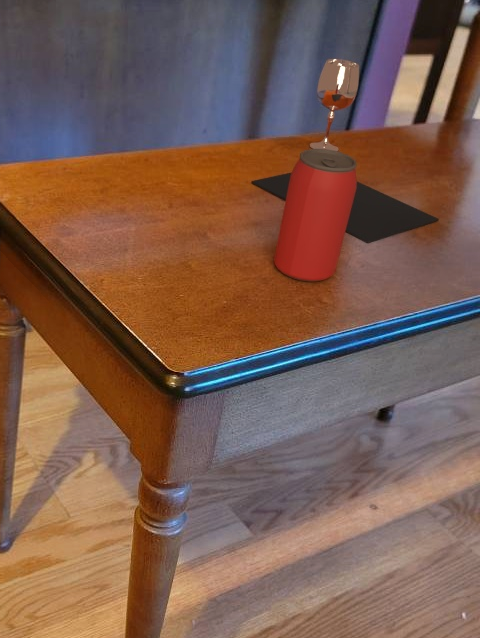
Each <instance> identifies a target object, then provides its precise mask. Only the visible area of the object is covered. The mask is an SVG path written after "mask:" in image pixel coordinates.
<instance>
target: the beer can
mask: <svg viewBox="0 0 480 638" xmlns="http://www.w3.org/2000/svg"><path fill="white" fill-rule="evenodd" d="M357 165H358V164H357V160H355V158H353V157H352V156H350V155H348V154H347V153H344V152H340V151H333V150H327V149H313V148H309V149H305V150H303V151H301V152H300V154H299V159H297V161H296V163H295V165H294V166H293V169H292V170H291V172H292V173H291V172H290V173H291V176H290V181H289V187H288V192H287V197H286V201H284V202H285V203H284V207H283V213H282V218H281V222H280V228H279V233H278V238H277V243H276V248H275V252H274V259H273V262H274V265H275V267H276V268H277V270H278V271H279V272H281V274H283V275H284V276H287V277H289V278H291V279H294V280H297V281H302V282H307V283H308V282H309V283H310V282H311V283H317V282H321V281H325V280H327V279H329V278H331V277H332V276H333V275H334V274H335V272H336V269H337V266H338V261H339V258H340V254H341V251H342V246H343V242H344V239H345V235H346V232H345V231H346V227H347V223H348V219H349V215H350V212H351V208H352V204H353V200H354V196H355V192H356V188H357V182H358V180H357V172H356V168H357V167H358V166H357Z"/></svg>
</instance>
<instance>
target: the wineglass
mask: <svg viewBox="0 0 480 638" xmlns="http://www.w3.org/2000/svg"><path fill="white" fill-rule="evenodd" d="M359 80H360V65H359V63H357V62H354V61H351V60H347V59H340V58H328V59H326V61H325V62H324V65H323V68H322V70H321V72H320V75H319V78H318V81H317V85H316V98H317V100H318V102H319V103H320V105H322V106H323V107H324V108H326V109H328V110H329V112H328V114H327V115H326V116H327V118H326V119H327V121H326V123H327V124H326V129H325V135H324V138H323V139H322V140H321V141H313V142H311V143H309V147H310V149H327V150H333V151H337V152H339V150H340V148H339V147H338V146H337V145H336V144H333V143H330V141H329V134H330V129H331V126H332V124H333V122H334V121H335V111H340V110H344V109H346V108H348V107H350V106H351V105H352V104H353V103H354V101H355V99H356V96H357V93H358V89H359Z"/></svg>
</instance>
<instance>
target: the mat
mask: <svg viewBox="0 0 480 638" xmlns="http://www.w3.org/2000/svg"><path fill="white" fill-rule="evenodd" d="M291 173H292V171H291V172H287V173H282V174H277V175H273V176H268V177H264V178H259V179H255V180H251V182H250V183H251V184H252V185H254V186H256V187H257V188H260V189H262V190H263V191H266V192H268V193H269V194H272V195H273V196H275V197H278V198H279V199H281V200H283V201H284V202H286V197H287V192H288V187H289V181H290V176H291ZM439 219H440V218H438V217H436V216H433V215H431V214H430V213H426V212H425V211H423V210H421V209H418V208H416V207H413V206H412V205H410V204H408V203H406V202H403V201H401V200H399V199H396V198H394V197H392V196H390V195H388V194H385V193H383V192H381V191H379V190H377V189H375V188H372V187H371V186H369V185H366V184H363V183H361V182H359V181H357V188H356V192H355V196H354V200H353V204H352V208H351V212H350V215H349V219H348V223H347V227H346V231H345V233H347V234H349V235H351V236H352V237H355V238H357V239H358V240H361V241H363V242H365V243H367V244H370V243H372V242H377V241H379V240H382V239H385V238H389V237H392V236H395V235H398V234H402V233H405V232H409V231H412V230H414V229H418V228H420V227H424V226H427V225H430V224H433V223H436V222H439Z"/></svg>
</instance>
